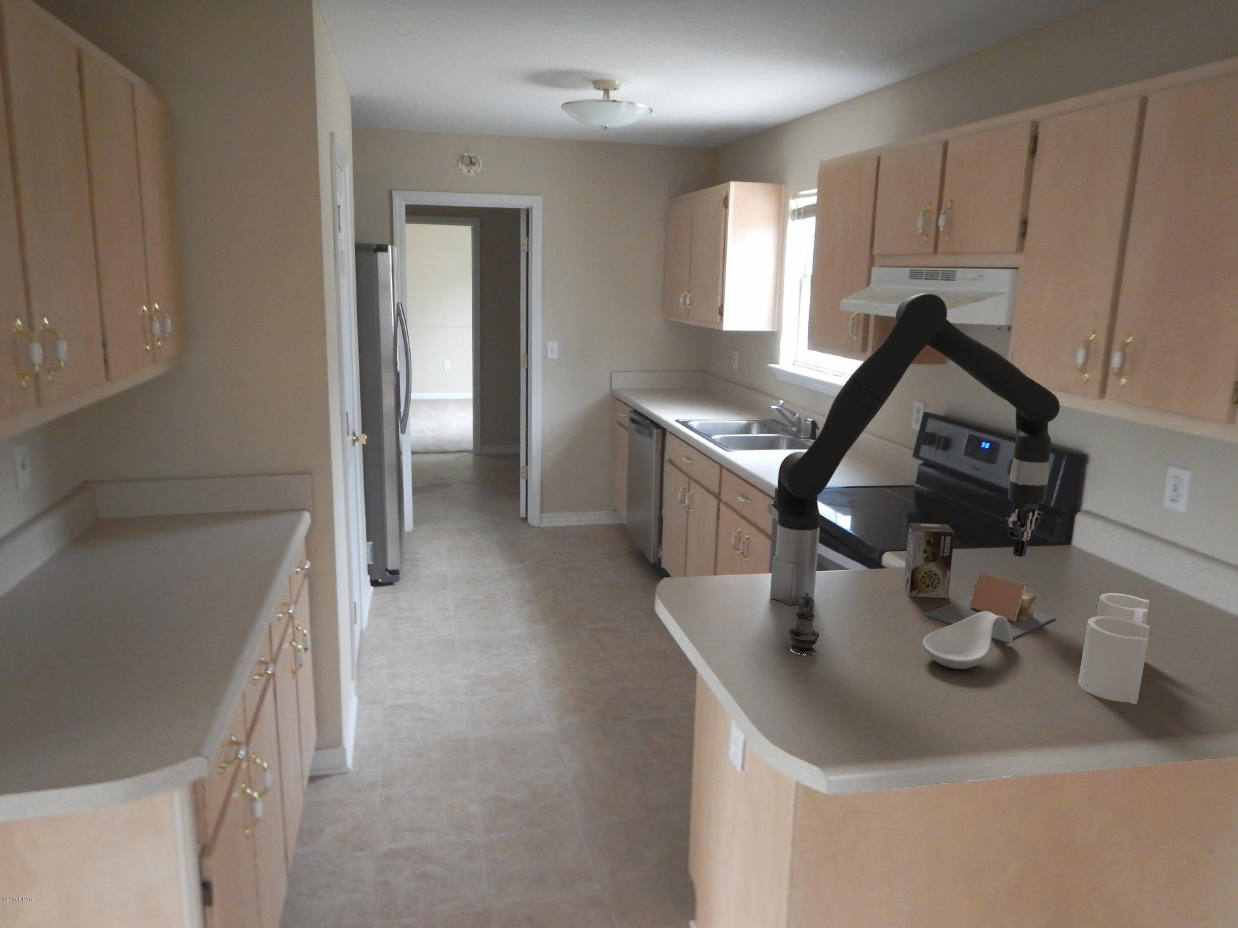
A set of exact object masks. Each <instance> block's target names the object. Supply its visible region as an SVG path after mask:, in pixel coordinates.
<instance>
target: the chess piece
mask: <svg viewBox="0 0 1238 928" xmlns="http://www.w3.org/2000/svg"><path fill="white" fill-rule="evenodd" d="M805 595H806V596H804V597H802V598H800V600H799V604H798V611H797V612H796V614H795V615H796V616H797V618H796V619H797V620H796V625H795V627H792V628H791V629H789V630H788V634H789V639H790V641H791V642H792V646H791V645H790V646H791V649H792V650H793V651H794V652H796V653H800V655H801V654H802V655H803V654H806V655H812V653H813V654H814V653H816V654H817V649H816V648H814V646H815V644H816V643H817V642H818V639H819V637H820V633H819V632H818V631H817V630H815V629H814V627H813V623H814V618H815V617H816V616H815V614H814V606H815V605H814V604H815V601H814V600H815V599H814V600H813V599H812V598H811V597H809V596H808V595H809V594H808V593H806V594H805ZM800 655H799V656H800ZM814 655H815V654H814ZM812 656H813V655H812Z"/></svg>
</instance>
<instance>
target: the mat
mask: <svg viewBox="0 0 1238 928" xmlns="http://www.w3.org/2000/svg"><path fill="white" fill-rule="evenodd" d="M972 597H973V595H970V596H968V597H967V596H966V597H965V598H962V599H960V600H957V601H955V602H952V603H949V604H946V605H944V606H941V607H939V608H936V609H933V610H932V611H928V612H926V613H924V614H925V616H926V617H929V618H932V619H934V620H937V621H940V622H943V623H945V624H949V625H952V624H955V623H957V622H960V621H962V620H964V619H966V618H969V617H971V616H973V615H975V614H977V613H980V612H983V611H981V610H978V609H975V608H972V607H969V606H970V603H971V600H972ZM1007 620H1008V619H1007ZM1054 620H1056V616H1053V615H1050V614H1049V615H1048V614H1046V613H1042V612H1039V611H1036V610H1034V614H1033V617H1032V618H1030V619H1028V620H1026V621H1022V620H1019V619H1016V621H1015V622H1014V621H1011V620H1008V622H1009V624H1010V626H1011V630H1012V640H1015V639H1016V638H1019V637H1020V636H1023V635H1025V634H1027V633H1029V632H1031V631H1033V630H1035V629H1037V628H1041V626H1044V625H1046V624H1047V623H1050V622H1052V621H1054ZM991 640H994V641H996V642H999V643H1002V644H1006V643H1007V642H1005V641H1002V640H999V639H996V638H994V637H991Z"/></svg>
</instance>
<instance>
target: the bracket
mask: <svg viewBox="0 0 1238 928" xmlns="http://www.w3.org/2000/svg"><path fill="white" fill-rule="evenodd" d="M1149 605H1150V600H1148V599H1143V598H1140V597H1137V596H1133V595H1129V594H1124V593H1116V592H1115V593H1114V592H1107V593H1103V594H1100V595H1099V599H1098V604H1097V612H1096V616H1092V617H1090V618H1089V619H1087V624H1086V631H1085V636H1084V637H1085V639H1084V642H1083V643H1084V645H1083V650H1082V655H1081V657H1082V658H1081V663H1080V668H1079V676H1078V685H1079V687H1080V688H1082V689H1083V690H1084V692H1085V691H1086V692H1087V693H1089V694H1091V695H1093V696H1096V697H1098V698H1100V699H1105V700H1109V701H1113V702H1120V703H1129V704H1132V705H1136V704H1138V703H1139V702H1138V700H1139V695H1140V690H1141V684H1142V677H1143V673H1144V666H1145V660H1146V654H1147V649H1148V645H1149V644H1148V643H1149V636H1150V630H1151V629H1150V628H1151V626H1150V625H1149V624H1146V623H1147V619H1148V618H1147V617H1148V614H1149V613H1148V612H1149Z"/></svg>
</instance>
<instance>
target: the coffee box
mask: <svg viewBox="0 0 1238 928" xmlns="http://www.w3.org/2000/svg"><path fill="white" fill-rule="evenodd" d="M954 541H955V531H954V530H953V529H952V527H951V526H950V525H949V524H945V523H944V524H942V523H920V522H919V523H918V522H909V523H908V535H907V543H906V544H907V545H906V554H905V564H904V575H903V586H902V587H903V590H904V592H905V593H906V595H907V596H908V597H913V598H934V599H937V598H938V599H948V598H949V592H950V583H951V574H952V573H951V570H952V561H953V560H952V559H953V552H954V543H955V542H954Z"/></svg>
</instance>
